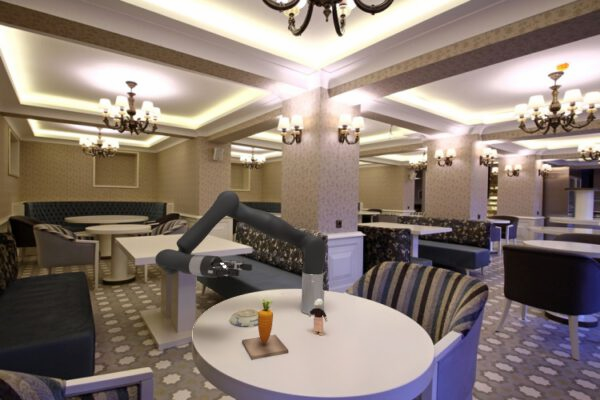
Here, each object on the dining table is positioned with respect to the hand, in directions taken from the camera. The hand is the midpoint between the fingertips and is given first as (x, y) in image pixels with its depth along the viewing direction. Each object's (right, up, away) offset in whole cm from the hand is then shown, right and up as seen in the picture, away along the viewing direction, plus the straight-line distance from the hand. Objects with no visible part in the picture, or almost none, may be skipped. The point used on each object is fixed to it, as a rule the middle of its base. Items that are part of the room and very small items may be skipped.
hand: (245, 270), depth 105 cm
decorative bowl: (-3, -25, +20) cm, 33 cm away
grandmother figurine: (+25, -26, +10) cm, 37 cm away
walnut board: (+7, -25, -3) cm, 26 cm away
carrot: (+7, -24, -3) cm, 25 cm away
